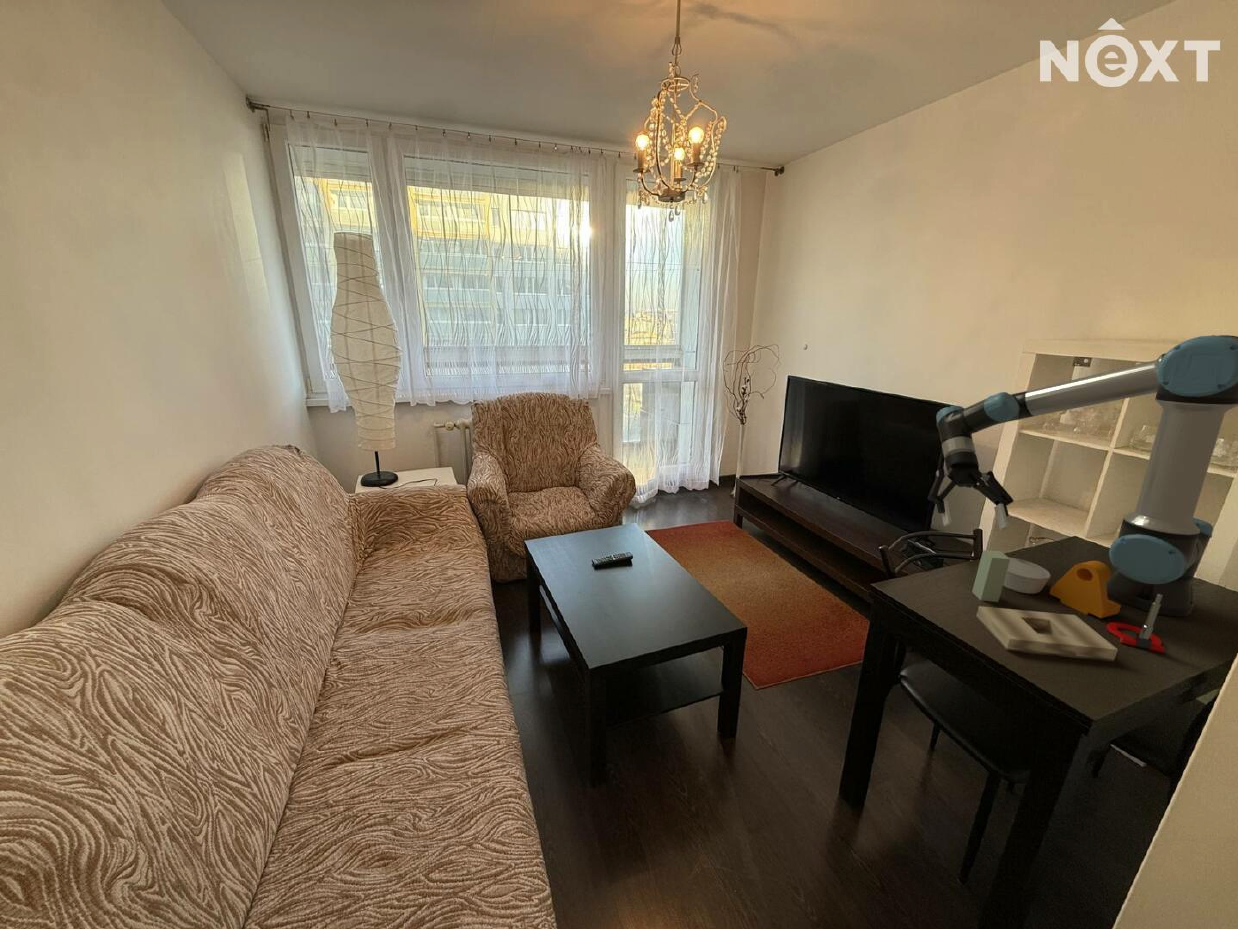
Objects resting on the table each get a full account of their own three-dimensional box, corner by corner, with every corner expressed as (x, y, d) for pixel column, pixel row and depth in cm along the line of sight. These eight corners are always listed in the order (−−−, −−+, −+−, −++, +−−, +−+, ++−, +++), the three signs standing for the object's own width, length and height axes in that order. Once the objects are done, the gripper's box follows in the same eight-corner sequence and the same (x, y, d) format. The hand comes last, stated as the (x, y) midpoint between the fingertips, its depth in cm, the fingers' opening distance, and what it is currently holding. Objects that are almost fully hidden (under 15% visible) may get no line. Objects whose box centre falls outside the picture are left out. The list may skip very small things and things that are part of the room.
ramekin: (1051, 588, 126) (1057, 570, 125) (1036, 601, 120) (1042, 583, 119) (1001, 570, 135) (1005, 553, 134) (984, 581, 129) (989, 564, 128)
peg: (989, 593, 124) (1000, 551, 120) (998, 602, 120) (1010, 559, 116) (972, 591, 124) (983, 550, 121) (980, 600, 120) (992, 557, 117)
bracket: (1119, 615, 115) (1136, 571, 111) (1099, 621, 113) (1116, 576, 109) (1067, 591, 125) (1081, 550, 121) (1048, 596, 122) (1062, 554, 119)
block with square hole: (1071, 626, 111) (1075, 615, 110) (1113, 661, 99) (1118, 649, 98) (975, 617, 114) (978, 606, 113) (1006, 650, 102) (1009, 638, 101)
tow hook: (1100, 622, 113) (1115, 643, 105) (1117, 572, 110) (1134, 590, 102) (1149, 633, 109) (1169, 656, 101) (1168, 582, 106) (1190, 602, 98)
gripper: (1000, 465, 138) (1019, 534, 129) (907, 460, 142) (918, 527, 133) (1016, 452, 132) (1037, 525, 122) (918, 447, 135) (931, 517, 126)
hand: (975, 526), depth 127 cm, fingers open, 13 cm apart
